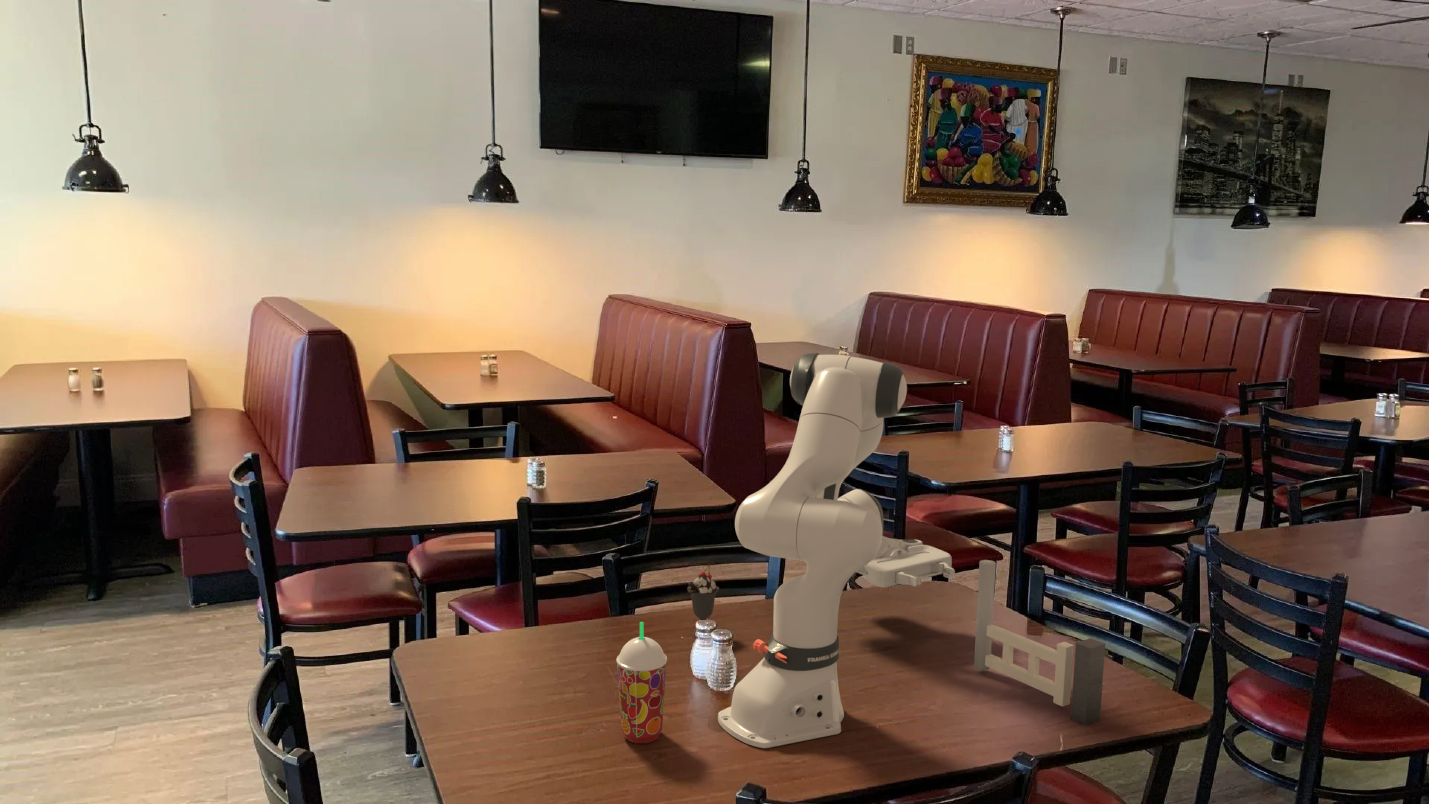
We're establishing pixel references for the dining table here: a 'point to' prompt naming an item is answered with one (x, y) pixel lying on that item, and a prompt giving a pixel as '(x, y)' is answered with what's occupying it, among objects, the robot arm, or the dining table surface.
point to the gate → (1017, 646)
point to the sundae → (703, 595)
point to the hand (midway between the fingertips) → (935, 578)
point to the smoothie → (641, 688)
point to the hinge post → (1087, 681)
